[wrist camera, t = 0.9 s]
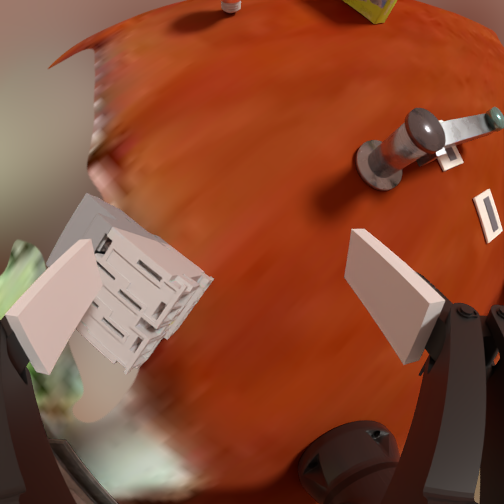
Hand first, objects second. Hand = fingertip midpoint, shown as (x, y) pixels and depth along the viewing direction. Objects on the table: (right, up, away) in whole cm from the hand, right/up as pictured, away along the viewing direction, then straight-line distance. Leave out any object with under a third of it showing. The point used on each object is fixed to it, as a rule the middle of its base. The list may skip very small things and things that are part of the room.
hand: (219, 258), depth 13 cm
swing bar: (+31, +17, +16) cm, 39 cm away
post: (+18, +12, +20) cm, 29 cm away
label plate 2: (+42, +7, +20) cm, 47 cm away
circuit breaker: (-11, -2, +18) cm, 21 cm away
